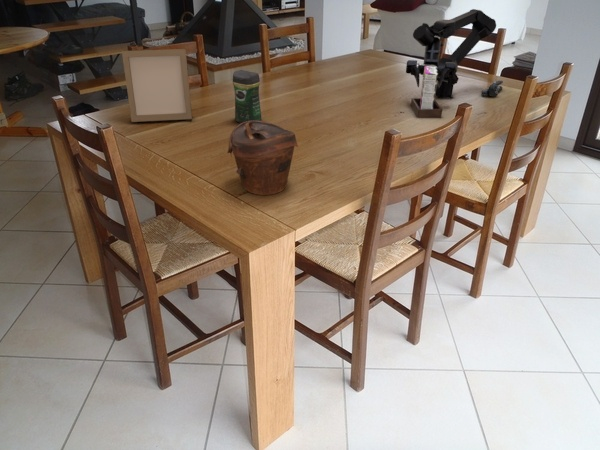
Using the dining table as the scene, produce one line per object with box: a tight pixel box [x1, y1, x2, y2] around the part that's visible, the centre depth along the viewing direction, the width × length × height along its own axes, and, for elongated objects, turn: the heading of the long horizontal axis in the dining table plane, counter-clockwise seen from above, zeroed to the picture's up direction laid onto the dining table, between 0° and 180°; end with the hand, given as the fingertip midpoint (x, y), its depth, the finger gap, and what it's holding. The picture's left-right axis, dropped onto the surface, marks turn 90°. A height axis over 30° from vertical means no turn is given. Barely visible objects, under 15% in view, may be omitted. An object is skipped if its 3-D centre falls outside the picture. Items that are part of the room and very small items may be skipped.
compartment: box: [410, 97, 443, 119], centre depth 197 cm, size 9×14×3 cm, turn 0°
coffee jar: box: [232, 69, 262, 124], centre depth 183 cm, size 10×8×19 cm
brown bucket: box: [227, 120, 299, 196], centre depth 139 cm, size 18×20×18 cm
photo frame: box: [121, 48, 193, 123], centre depth 185 cm, size 15×22×25 cm
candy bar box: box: [419, 66, 438, 109], centre depth 194 cm, size 11×5×16 cm, turn 168°
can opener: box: [480, 80, 504, 97], centre depth 218 cm, size 18×7×6 cm, turn 143°
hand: (428, 87), depth 195 cm, fingers open, 7 cm apart
